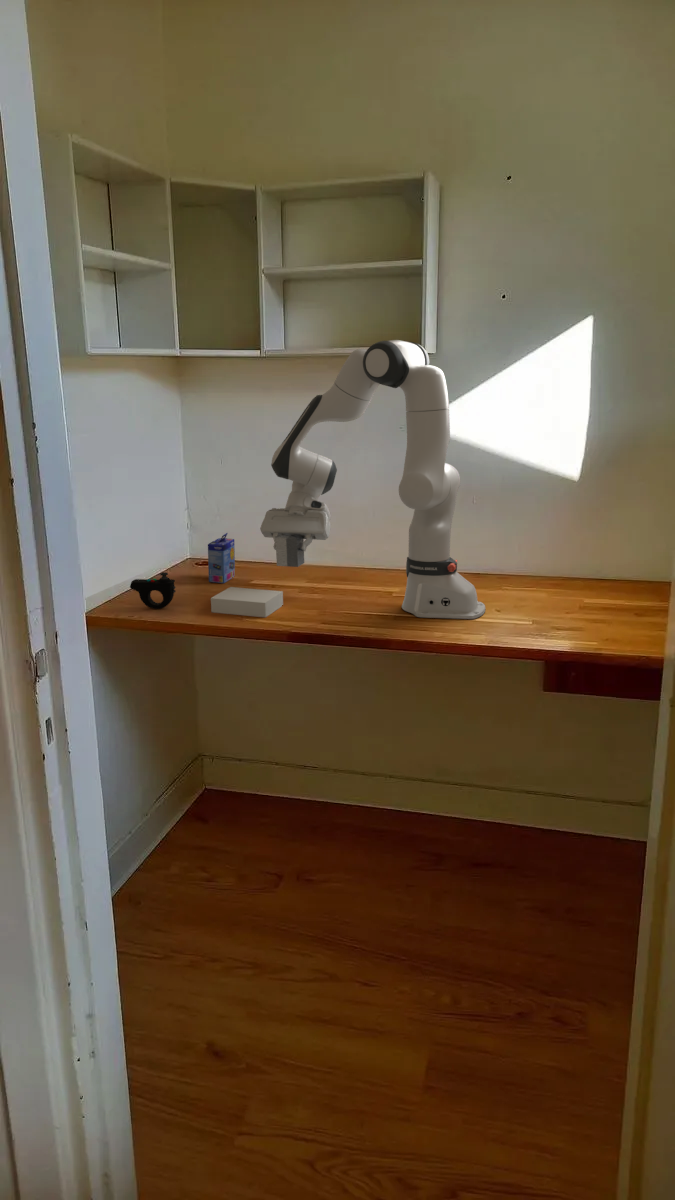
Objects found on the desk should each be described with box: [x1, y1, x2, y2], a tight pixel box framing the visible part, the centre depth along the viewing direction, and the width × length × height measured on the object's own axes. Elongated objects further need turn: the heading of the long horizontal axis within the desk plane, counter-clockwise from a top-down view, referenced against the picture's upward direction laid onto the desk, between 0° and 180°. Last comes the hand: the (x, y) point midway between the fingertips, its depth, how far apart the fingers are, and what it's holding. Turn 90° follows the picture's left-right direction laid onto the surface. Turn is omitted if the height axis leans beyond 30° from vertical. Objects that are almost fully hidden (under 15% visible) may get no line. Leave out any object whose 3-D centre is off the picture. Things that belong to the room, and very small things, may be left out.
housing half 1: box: [275, 534, 292, 567], centre depth 239 cm, size 3×5×8 cm, turn 161°
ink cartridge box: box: [207, 532, 236, 584], centre depth 261 cm, size 10×6×14 cm, turn 166°
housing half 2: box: [286, 535, 305, 568], centre depth 238 cm, size 3×5×8 cm, turn 161°
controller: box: [129, 572, 177, 610], centre depth 232 cm, size 4×12×10 cm, turn 84°
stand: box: [210, 586, 284, 618], centre depth 231 cm, size 16×12×4 cm
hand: (289, 549), depth 238 cm, fingers open, 6 cm apart
